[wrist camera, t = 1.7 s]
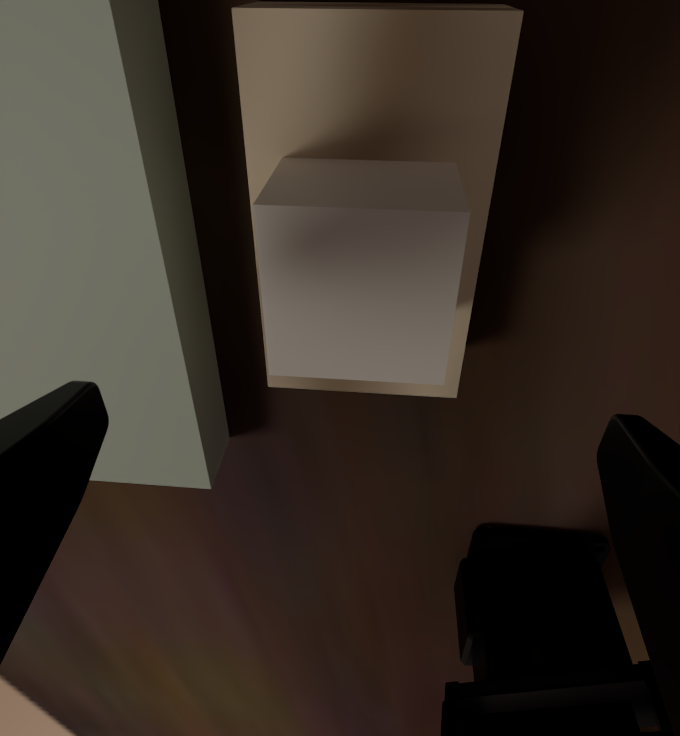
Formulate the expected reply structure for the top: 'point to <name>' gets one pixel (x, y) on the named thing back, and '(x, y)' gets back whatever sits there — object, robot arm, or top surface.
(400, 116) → the tall tan box
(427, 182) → the box
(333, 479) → the top surface
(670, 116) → the top surface
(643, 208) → the top surface
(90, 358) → the dock
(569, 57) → the top surface
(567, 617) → the robot arm
